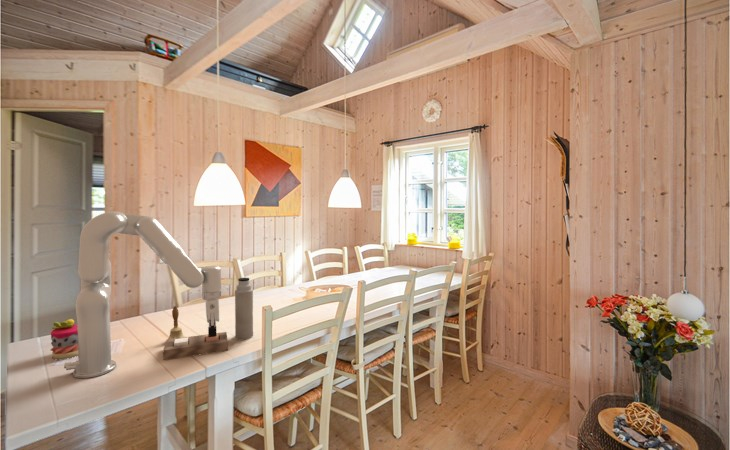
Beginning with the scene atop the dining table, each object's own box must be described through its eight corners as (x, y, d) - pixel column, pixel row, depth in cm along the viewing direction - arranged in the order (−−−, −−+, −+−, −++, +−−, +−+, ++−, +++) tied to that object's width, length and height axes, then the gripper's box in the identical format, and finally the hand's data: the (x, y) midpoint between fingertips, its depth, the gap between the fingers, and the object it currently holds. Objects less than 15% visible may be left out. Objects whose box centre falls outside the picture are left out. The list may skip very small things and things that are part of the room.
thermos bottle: (247, 332, 169) (247, 275, 168) (256, 336, 164) (256, 278, 162) (232, 336, 163) (231, 278, 162) (240, 341, 158) (240, 280, 156)
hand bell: (177, 344, 153) (176, 309, 152) (161, 343, 154) (160, 308, 154) (190, 337, 161) (190, 304, 160) (175, 336, 163) (174, 303, 162)
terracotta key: (206, 345, 147) (205, 338, 147) (206, 341, 151) (206, 334, 151) (218, 344, 149) (218, 337, 149) (218, 339, 154) (218, 333, 153)
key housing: (163, 360, 137) (163, 350, 137) (166, 348, 148) (166, 339, 148) (227, 350, 147) (227, 341, 147) (226, 340, 158) (226, 331, 158)
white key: (174, 350, 142) (173, 343, 142) (175, 345, 146) (174, 339, 146) (187, 348, 144) (187, 341, 144) (188, 344, 149) (188, 337, 148)
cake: (57, 351, 144) (56, 316, 143) (88, 347, 148) (87, 313, 148) (46, 362, 135) (45, 324, 134) (79, 357, 139) (78, 321, 138)
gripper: (221, 298, 144) (222, 340, 145) (220, 289, 157) (221, 329, 158) (202, 299, 141) (202, 343, 142) (202, 291, 154) (203, 331, 155)
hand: (212, 335), depth 150 cm, fingers closed
